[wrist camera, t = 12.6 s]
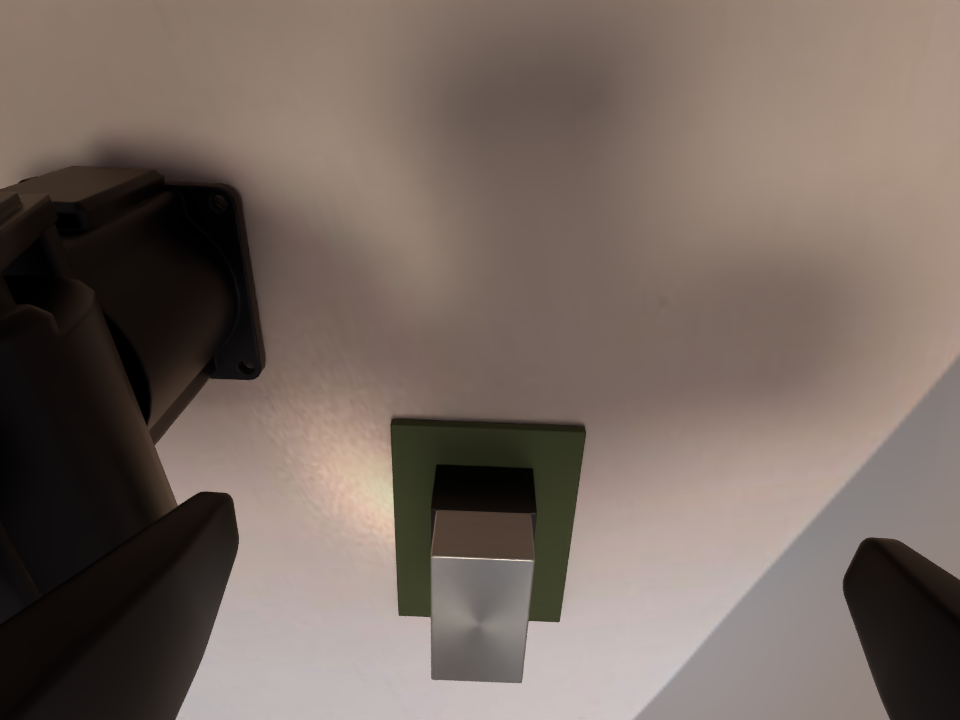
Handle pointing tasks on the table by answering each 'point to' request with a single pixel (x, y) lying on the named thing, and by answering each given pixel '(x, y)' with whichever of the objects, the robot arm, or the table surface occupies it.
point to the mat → (489, 446)
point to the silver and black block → (481, 571)
